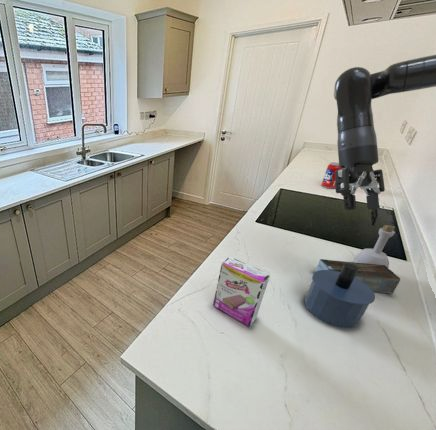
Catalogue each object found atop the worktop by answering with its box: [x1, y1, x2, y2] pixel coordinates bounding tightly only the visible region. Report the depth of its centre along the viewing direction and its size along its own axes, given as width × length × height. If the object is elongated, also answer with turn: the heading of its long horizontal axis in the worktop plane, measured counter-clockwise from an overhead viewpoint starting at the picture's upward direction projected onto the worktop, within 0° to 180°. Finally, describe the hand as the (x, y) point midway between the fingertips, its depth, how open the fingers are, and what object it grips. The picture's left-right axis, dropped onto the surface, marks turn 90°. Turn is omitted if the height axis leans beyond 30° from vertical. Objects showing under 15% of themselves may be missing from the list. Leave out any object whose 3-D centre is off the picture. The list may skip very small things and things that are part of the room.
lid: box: [311, 263, 376, 306], centre depth 71 cm, size 14×14×8 cm
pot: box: [304, 280, 370, 329], centre depth 75 cm, size 13×13×9 cm
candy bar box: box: [212, 256, 271, 328], centre depth 73 cm, size 11×5×16 cm, turn 43°
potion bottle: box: [353, 224, 396, 269], centre depth 89 cm, size 9×9×18 cm
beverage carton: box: [315, 258, 401, 295], centre depth 85 cm, size 8×19×7 cm, turn 77°
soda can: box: [320, 161, 344, 190], centre depth 161 cm, size 8×8×15 cm
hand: (362, 209), depth 68 cm, fingers open, 8 cm apart
